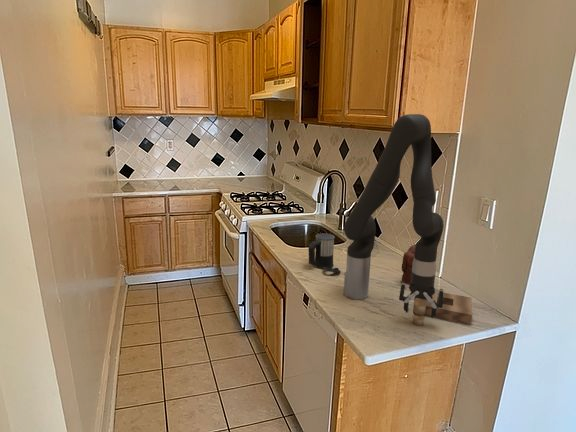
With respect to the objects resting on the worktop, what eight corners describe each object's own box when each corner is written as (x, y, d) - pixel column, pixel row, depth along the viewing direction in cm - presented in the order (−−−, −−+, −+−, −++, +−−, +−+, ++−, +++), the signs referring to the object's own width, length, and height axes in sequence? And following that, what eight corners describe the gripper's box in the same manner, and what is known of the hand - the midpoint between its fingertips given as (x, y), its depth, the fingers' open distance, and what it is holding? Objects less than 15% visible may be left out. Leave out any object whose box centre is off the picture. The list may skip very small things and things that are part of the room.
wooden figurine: (420, 279, 171) (425, 240, 166) (430, 285, 165) (434, 245, 160) (397, 282, 168) (401, 243, 163) (406, 288, 162) (410, 248, 157)
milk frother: (320, 260, 191) (321, 231, 187) (349, 267, 183) (351, 238, 179) (305, 269, 180) (305, 239, 176) (335, 278, 172) (336, 246, 168)
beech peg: (411, 324, 135) (413, 298, 133) (412, 318, 139) (415, 293, 136) (423, 326, 134) (426, 300, 131) (424, 321, 137) (427, 295, 135)
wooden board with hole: (416, 314, 142) (417, 304, 141) (420, 297, 154) (421, 288, 153) (470, 325, 135) (472, 314, 134) (470, 307, 147) (471, 297, 146)
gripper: (400, 271, 130) (396, 314, 135) (445, 279, 125) (440, 323, 129) (403, 263, 137) (400, 305, 141) (446, 270, 132) (441, 313, 136)
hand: (419, 314), depth 135 cm, fingers open, 8 cm apart
